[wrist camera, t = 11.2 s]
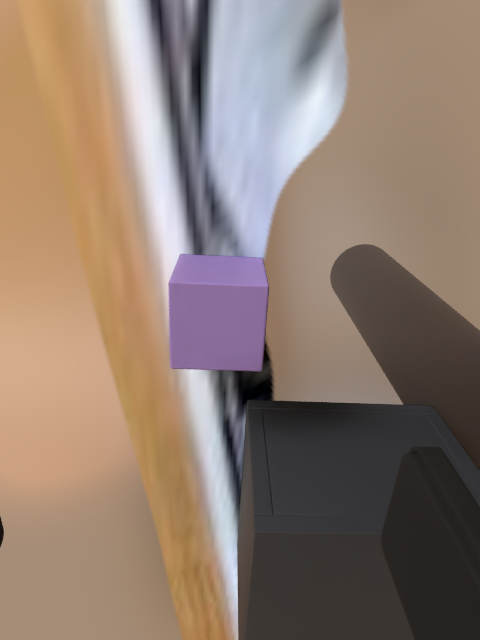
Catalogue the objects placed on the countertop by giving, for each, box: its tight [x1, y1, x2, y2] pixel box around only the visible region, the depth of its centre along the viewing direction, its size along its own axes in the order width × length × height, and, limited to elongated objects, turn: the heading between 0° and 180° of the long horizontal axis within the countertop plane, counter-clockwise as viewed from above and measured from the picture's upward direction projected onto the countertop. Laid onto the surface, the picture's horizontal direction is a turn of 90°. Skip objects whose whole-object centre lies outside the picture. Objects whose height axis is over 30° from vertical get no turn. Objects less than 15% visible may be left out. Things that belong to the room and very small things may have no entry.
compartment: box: [237, 400, 480, 640], centre depth 23 cm, size 12×11×9 cm
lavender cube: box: [169, 254, 269, 371], centre depth 20 cm, size 4×4×4 cm
